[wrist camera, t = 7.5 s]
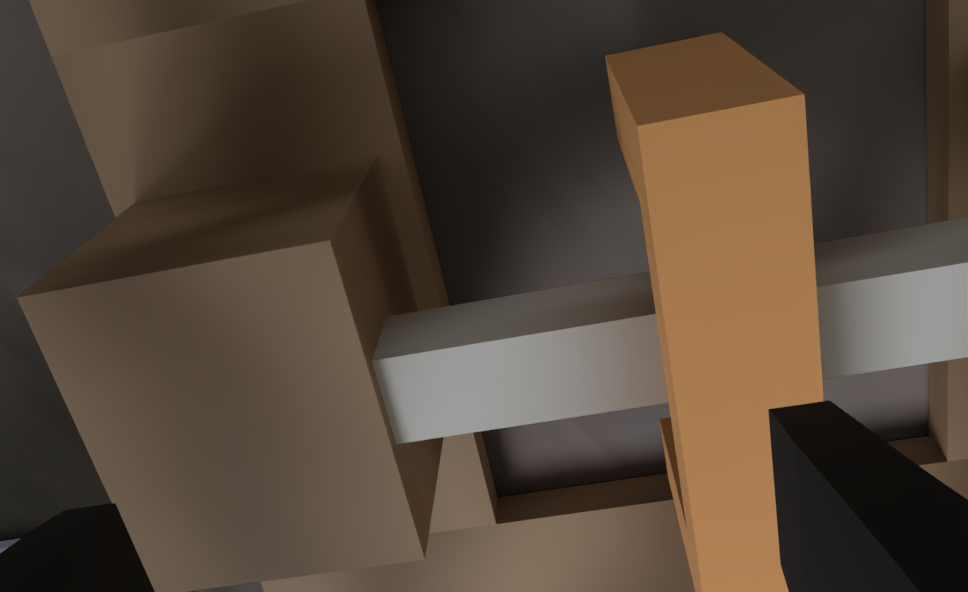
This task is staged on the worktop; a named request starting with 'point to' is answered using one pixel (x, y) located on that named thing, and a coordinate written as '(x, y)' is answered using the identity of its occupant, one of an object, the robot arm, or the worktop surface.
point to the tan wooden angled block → (723, 284)
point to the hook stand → (388, 320)
